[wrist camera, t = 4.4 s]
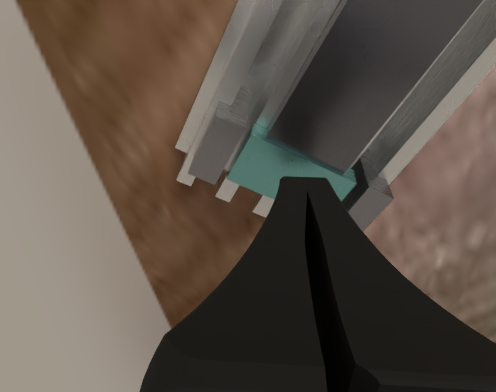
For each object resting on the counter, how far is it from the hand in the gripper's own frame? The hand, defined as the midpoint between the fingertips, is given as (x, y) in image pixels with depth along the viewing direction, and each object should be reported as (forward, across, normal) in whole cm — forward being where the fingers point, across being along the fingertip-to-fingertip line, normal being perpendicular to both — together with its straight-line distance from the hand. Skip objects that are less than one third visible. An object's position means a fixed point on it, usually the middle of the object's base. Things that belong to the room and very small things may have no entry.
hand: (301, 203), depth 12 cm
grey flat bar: (+3, -2, -3) cm, 5 cm away
